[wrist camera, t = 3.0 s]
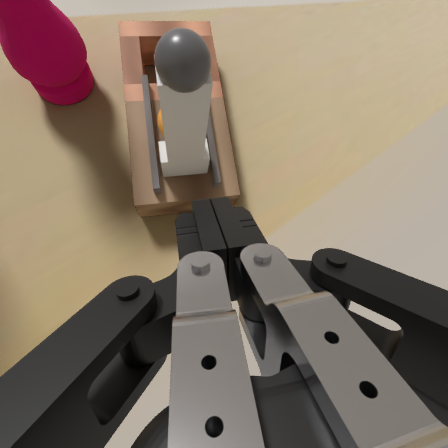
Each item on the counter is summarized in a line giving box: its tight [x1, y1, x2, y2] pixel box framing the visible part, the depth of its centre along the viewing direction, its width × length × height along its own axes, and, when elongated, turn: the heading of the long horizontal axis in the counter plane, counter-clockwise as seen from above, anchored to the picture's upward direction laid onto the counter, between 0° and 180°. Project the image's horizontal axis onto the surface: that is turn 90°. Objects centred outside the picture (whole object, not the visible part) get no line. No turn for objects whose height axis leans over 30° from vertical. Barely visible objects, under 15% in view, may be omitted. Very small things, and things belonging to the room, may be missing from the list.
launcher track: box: [118, 21, 240, 217], centre depth 30 cm, size 10×21×5 cm, turn 9°
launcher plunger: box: [154, 28, 213, 177], centre depth 20 cm, size 4×3×14 cm
